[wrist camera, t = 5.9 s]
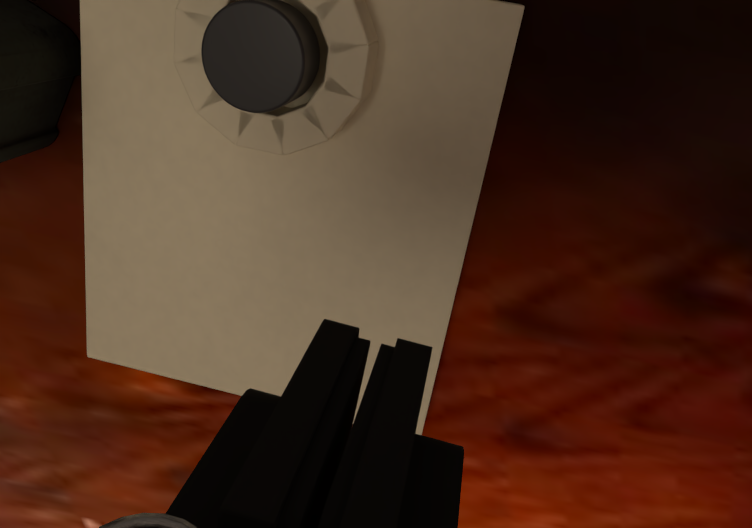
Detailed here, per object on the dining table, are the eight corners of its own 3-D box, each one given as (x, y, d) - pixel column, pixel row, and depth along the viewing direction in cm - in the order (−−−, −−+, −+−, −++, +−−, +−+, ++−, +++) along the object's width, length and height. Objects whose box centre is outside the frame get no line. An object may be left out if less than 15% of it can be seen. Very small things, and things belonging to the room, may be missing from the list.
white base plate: (102, -88, 21) (43, -99, 19) (527, -11, 20) (531, -11, 17) (105, 340, 28) (62, 378, 25) (424, 420, 27) (414, 468, 24)
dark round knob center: (227, -10, 19) (202, -10, 18) (327, 9, 19) (310, 10, 17) (221, 93, 20) (196, 102, 19) (314, 112, 20) (297, 123, 18)
